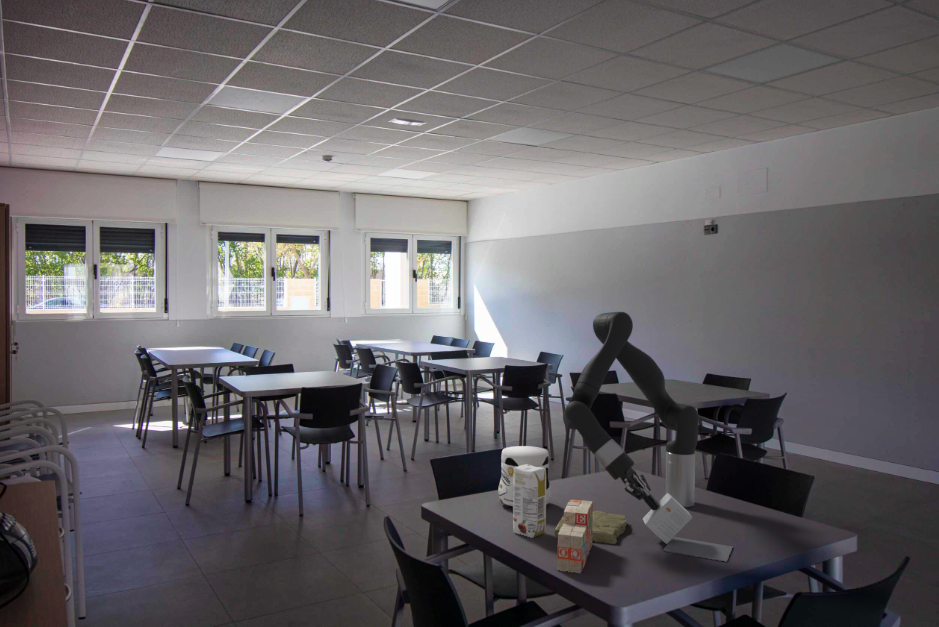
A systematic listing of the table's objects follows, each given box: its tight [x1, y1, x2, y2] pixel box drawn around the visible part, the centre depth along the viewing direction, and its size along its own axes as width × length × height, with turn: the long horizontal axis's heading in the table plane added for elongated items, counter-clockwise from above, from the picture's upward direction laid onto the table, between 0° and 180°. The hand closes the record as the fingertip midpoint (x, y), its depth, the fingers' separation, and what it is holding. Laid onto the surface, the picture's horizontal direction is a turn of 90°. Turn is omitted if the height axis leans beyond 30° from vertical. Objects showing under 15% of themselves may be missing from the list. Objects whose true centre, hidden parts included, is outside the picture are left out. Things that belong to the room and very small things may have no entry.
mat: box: [662, 536, 734, 563], centre depth 182 cm, size 12×16×1 cm
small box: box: [642, 493, 693, 545], centre depth 188 cm, size 8×6×10 cm
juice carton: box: [512, 464, 547, 539], centre depth 193 cm, size 8×9×19 cm
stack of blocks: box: [556, 499, 594, 574], centre depth 175 cm, size 21×6×12 cm, turn 163°
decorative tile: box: [554, 510, 627, 545], centre depth 197 cm, size 19×20×4 cm
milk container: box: [497, 445, 552, 509], centre depth 220 cm, size 17×17×18 cm
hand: (656, 507), depth 187 cm, fingers closed
